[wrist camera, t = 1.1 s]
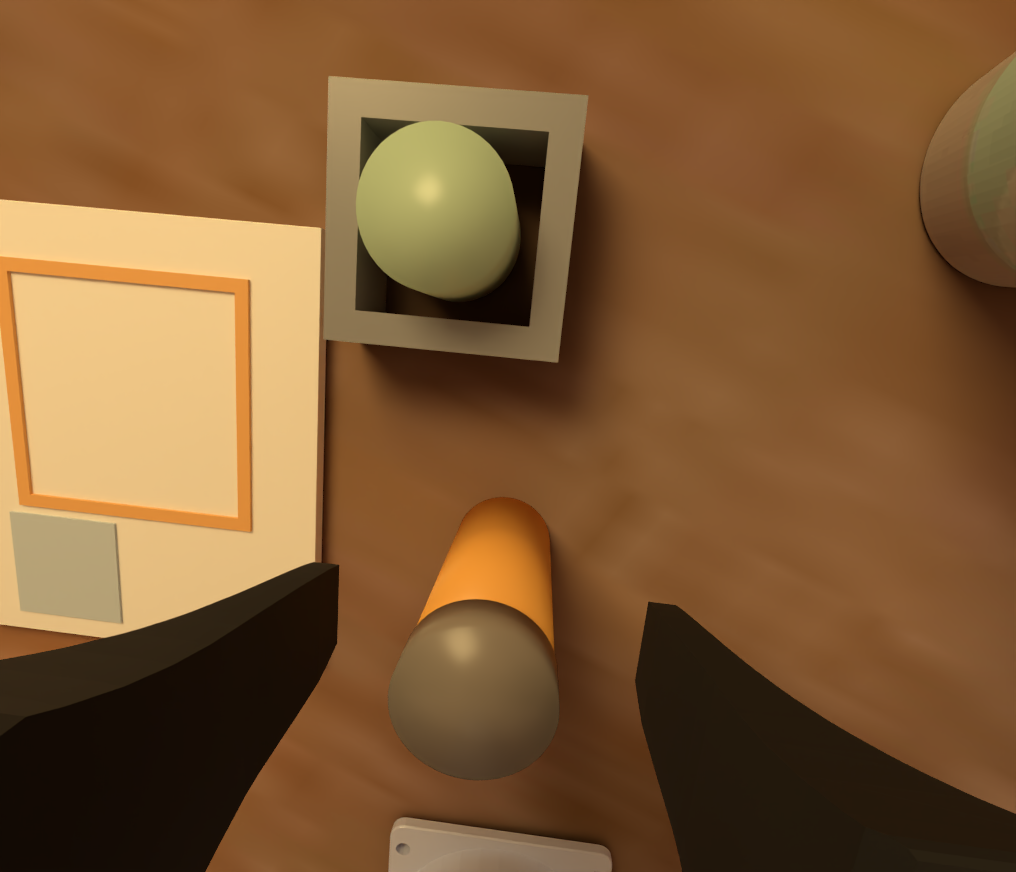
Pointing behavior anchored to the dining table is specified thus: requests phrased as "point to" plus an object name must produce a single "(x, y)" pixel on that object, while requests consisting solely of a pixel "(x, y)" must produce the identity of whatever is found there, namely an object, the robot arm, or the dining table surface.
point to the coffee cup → (976, 180)
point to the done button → (439, 211)
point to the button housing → (518, 141)
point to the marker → (483, 651)
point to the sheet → (154, 412)
